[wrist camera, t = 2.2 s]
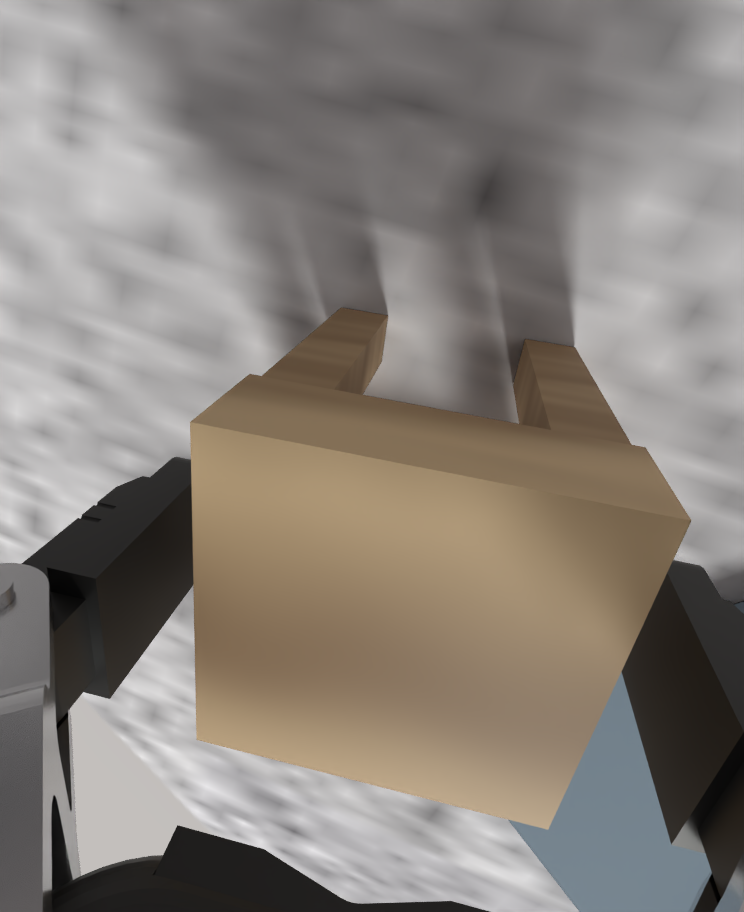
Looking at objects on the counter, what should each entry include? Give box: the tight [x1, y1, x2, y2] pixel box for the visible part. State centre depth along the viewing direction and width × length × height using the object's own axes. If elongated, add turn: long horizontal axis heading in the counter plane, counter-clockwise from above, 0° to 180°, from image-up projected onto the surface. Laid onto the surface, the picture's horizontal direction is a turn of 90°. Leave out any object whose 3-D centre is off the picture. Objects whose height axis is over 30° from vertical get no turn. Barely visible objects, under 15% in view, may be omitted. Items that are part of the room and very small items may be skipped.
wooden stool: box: [190, 308, 691, 830], centre depth 12 cm, size 6×6×8 cm
